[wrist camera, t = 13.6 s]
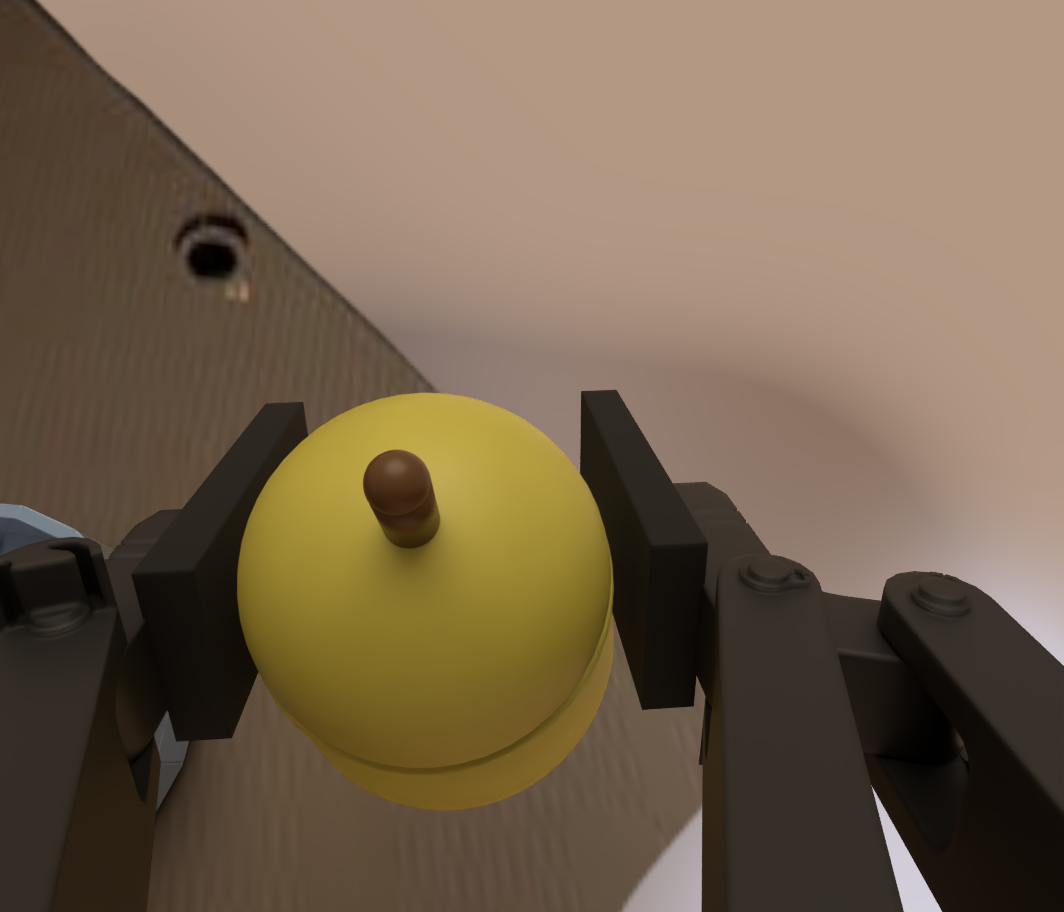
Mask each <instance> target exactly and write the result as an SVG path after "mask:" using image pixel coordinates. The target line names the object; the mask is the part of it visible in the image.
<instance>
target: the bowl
mask: <svg viewBox="0 0 1064 912" xmlns="http://www.w3.org/2000/svg"><path fill="white" fill-rule="evenodd" d="M65 537H80V538H90V539H92V540H94V541H96V542H97V543H99V544H100V545H101V549H102V552H103V556H104V560H106V559H109V555H110V554H111V553H112V552H113V550H114V549H112V548H110V547H108V546H106V545H104V544H102V543H101V542H99V541H97V540H95V539H93V538H91V537H89V536H87V535H85V534H84V533H82V532H80V531H78V530H76V529H74V528H72V527H70V526H67V525H65V524H63V523H61V522H59V521H56V520H54V519H52V518H50V517H48V516H46V515H43V514H41V513H39V512H37V511H35V510H33V509H30V508H28V507H26V506H22V505H13V504H3V503H0V556H2V555H3V554H5V553H7V552H10V551H12V550H15V549H17V548H20V547H23V546H25V545H28V544H32V543H36V542H40V541H44V540H48V539H54V538H65ZM154 736H155V740H156V744H157V747H158V751H159V755H160V760H161V767H160V777H159V787H158V797H157V807H156V811H157V810H158V808H159V806H160V804H161V802H162V801H163V799H164V797H165V795H166V794H167V792H168V790H169V788H170V787H171V785H172V783H173V781H174V780H175V778H176V776H177V774H178V772H179V771H180V769H181V767H182V765H183V761H184V759H185V755H186V751H187V747H188V743H189V741H181V742H176V740H175V736H174V732H173V729H172V725H171V721H170V718H169V714H168V710H167V712H166V713H165V715H164V717H163V719H162V721H161V723H160V725H159V727H158V728H157V730H156V732H155V734H154Z"/></svg>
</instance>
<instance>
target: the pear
mask: <svg viewBox="0 0 1064 912" xmlns="http://www.w3.org/2000/svg"><path fill="white" fill-rule="evenodd" d="M613 595H614V581H613V565H612V559H611V554H610V548H609V543H608V540H607V537H606V532H605V528H604V525H603V522H602V518H601V515H600V512H599V509H598V506H597V504H596V502H595V500H594V498H593V496H592V493H591V491H590V489H589V487H588V485H587V484H586V482H585V481H584V479H583V478H582V476H581V474H580V473H579V472H578V470H577V468H576V467H575V466H574V465H573V464H572V462H571V461H570V460H569V459H568V457H567V456H566V455H565V454H564V453H563V452H562V450H561V449H560V448H559V447H558V446H557V445H555V443H553V442H552V441H551V440H550V439H549V438H548V437H547V436H546V435H545V434H544V433H542V432H541V431H540V430H538V429H537V428H536V427H534V426H533V425H531V424H530V423H529V422H527V421H526V420H524V419H522V418H520V417H519V416H517V415H515V414H513V413H511V412H509V411H507V410H505V409H503V408H500V407H498V406H495V405H493V404H490V403H487V402H484V401H480V400H476V399H472V398H469V397H465V396H457V395H450V394H442V393H414V394H404V395H397V396H392V397H387V398H383V399H378V400H375V401H372V402H369V403H366V404H363V405H360V406H358V407H355V408H353V409H351V410H349V411H347V412H345V413H343V414H341V415H339V416H337V417H335V418H333V419H332V420H330V421H329V422H327V423H325V424H324V425H322V426H321V427H319V428H318V429H317V430H315V431H314V432H313V433H312V434H310V435H309V436H308V437H307V438H305V439H304V440H303V441H302V442H301V443H300V444H299V445H298V446H297V447H296V448H295V449H294V450H293V451H292V452H291V453H290V454H289V455H288V456H287V457H286V458H285V459H284V460H283V461H282V462H281V464H280V465H279V466H278V468H277V469H276V470H275V472H274V473H273V474H272V475H271V477H270V478H269V480H268V481H267V483H266V485H265V486H264V488H263V490H262V491H261V493H260V495H259V497H258V498H257V500H256V503H255V505H254V507H253V510H252V512H251V514H250V517H249V519H248V522H247V525H246V529H245V532H244V536H243V539H242V543H241V549H240V556H239V562H238V572H237V600H238V608H239V616H240V622H241V626H242V630H243V633H244V637H245V641H246V644H247V647H248V649H249V652H250V654H251V656H252V658H253V661H254V663H255V665H256V668H257V670H258V671H259V673H260V675H261V677H262V679H263V681H264V684H265V685H266V687H267V688H268V690H269V692H270V693H271V695H272V697H273V698H274V700H275V701H276V703H277V705H278V706H279V707H280V708H281V709H282V711H283V712H284V713H285V714H286V715H287V716H288V718H289V719H290V720H291V721H292V722H293V724H294V725H296V726H297V727H298V728H299V729H300V730H301V731H302V732H304V733H305V734H306V735H307V736H308V737H309V738H310V739H311V740H312V741H313V742H314V744H315V746H316V747H317V748H318V749H319V750H320V752H321V753H322V754H323V755H324V756H325V757H326V759H327V760H328V761H329V762H330V763H331V764H332V765H333V766H334V767H335V768H336V769H337V770H339V771H340V772H341V773H342V774H343V775H344V776H345V777H346V778H348V779H349V780H351V781H352V782H354V783H355V784H357V785H358V786H360V787H361V788H363V789H365V790H366V791H368V792H370V793H372V794H375V795H377V796H379V797H381V798H383V799H385V800H388V801H391V802H394V803H398V804H401V805H405V806H408V807H414V808H421V809H428V810H461V809H468V808H474V807H481V806H484V805H487V804H491V803H494V802H497V801H500V800H503V799H506V798H508V797H510V796H512V795H514V794H516V793H518V792H521V791H523V790H525V789H526V788H528V787H529V786H531V785H532V784H534V783H535V782H537V781H539V780H540V779H542V778H543V777H544V776H546V775H547V774H548V773H549V772H550V771H551V770H553V769H554V768H555V767H556V766H557V765H558V764H560V763H561V762H562V760H563V759H564V758H565V757H566V756H567V755H568V754H569V753H570V752H571V750H572V749H573V748H574V747H575V746H576V745H577V743H578V742H579V741H580V739H581V738H582V736H583V735H584V733H585V732H586V730H587V729H588V727H589V726H590V724H591V722H592V720H593V718H594V716H595V714H596V712H597V710H598V708H599V706H600V704H601V701H602V698H603V695H604V693H605V690H606V687H607V684H608V679H609V675H610V670H611V665H612V658H613V646H614V630H613V616H612V607H613Z"/></svg>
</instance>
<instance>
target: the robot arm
mask: <svg viewBox="0 0 1064 912" xmlns="http://www.w3.org/2000/svg"><path fill="white" fill-rule="evenodd" d="M307 437H308V433H307V426H306V419H305V412H304V405H303V402H294V403H269V404H265V405H264V407H263V408H262V409H261V410H260V412H259V413H258V414H257V415H256V417H255V418H254V419H253V420H252V422H251V423H250V424H249V426H248V427H247V428H246V429H245V431H244V432H243V433H242V434H241V436H240V437H239V438H238V439H237V441H236V442H235V443H234V444H233V446H232V447H231V448H230V449H229V451H228V452H227V453H226V455H225V456H224V457H223V458H222V460H221V461H220V462H219V463H218V465H217V466H216V467H215V468H214V470H213V471H212V472H211V473H210V475H209V476H208V477H207V479H206V480H205V481H204V482H203V484H202V485H201V486H200V487H199V489H198V490H197V491H196V492H195V494H194V495H193V496H192V497H191V499H190V500H189V501H188V502H187V504H186V505H185V506H184V508H183V509H177V510H161V511H159V512H157V513H155V514H154V515H152V516H150V517H149V518H147V519H145V520H144V521H142V522H140V523H139V524H137V525H136V526H135V527H134V528H133V529H132V530H131V531H130V532H129V533H128V535H127V536H126V537H125V538H124V539H123V540H122V541H121V545H118V546H117V547H116V548H115V549H114V550H113V552H112V553H111V554H110V555H109V559H106V560H104V556H103V552H102V549H101V545H100V544H99V543H97V542H96V541H94V540H92V539H90V538H80V537H65V538H54V539H48V540H44V541H40V542H36V543H32V544H28V545H25V546H23V547H20V548H17V549H15V550H12V551H10V552H7V553H5V554H3V555H2V556H0V912H146V909H147V898H148V888H149V878H150V868H151V858H152V848H153V838H154V828H155V818H156V807H157V797H158V787H159V777H160V767H161V760H160V755H159V751H158V747H157V744H156V740H155V736H154V734H155V732H156V730H157V728H158V727H159V725H160V723H161V721H162V719H163V717H164V715H165V713H166V712H167V710H168V714H169V718H170V721H171V725H172V729H173V732H174V736H175V740H176V742H181V741H196V740H210V739H225V738H232V736H233V734H234V731H235V729H236V726H237V724H238V721H239V719H240V716H241V714H242V711H243V709H244V706H245V704H246V701H247V699H248V696H249V694H250V691H251V689H252V686H253V684H254V682H255V679H256V677H257V674H258V672H259V671H258V670H257V668H256V665H255V663H254V661H253V658H252V656H251V654H250V652H249V649H248V647H247V644H246V641H245V637H244V633H243V630H242V626H241V622H240V616H239V608H238V600H237V572H238V562H239V556H240V549H241V543H242V539H243V536H244V532H245V529H246V525H247V522H248V519H249V517H250V514H251V512H252V510H253V507H254V505H255V503H256V500H257V498H258V497H259V495H260V493H261V491H262V490H263V488H264V486H265V485H266V483H267V481H268V480H269V478H270V477H271V475H272V474H273V473H274V472H275V470H276V469H277V468H278V466H279V465H280V464H281V462H282V461H283V460H284V459H285V458H286V457H287V456H288V455H289V454H290V453H291V452H292V451H293V450H294V449H295V448H296V447H297V446H298V445H299V444H300V443H301V442H302V441H303V440H304V439H305V438H307ZM580 455H581V456H580V460H581V461H580V474H581V476H582V478H583V479H584V481H585V482H586V484H587V485H588V487H589V489H590V491H591V493H592V496H593V498H594V500H595V502H596V504H597V506H598V509H599V512H600V515H601V518H602V522H603V525H604V528H605V532H606V537H607V540H608V543H609V548H610V554H611V559H612V565H613V581H614V595H613V607H612V612H613V616H614V619H615V622H616V625H617V629H618V632H619V635H620V638H621V642H622V645H623V648H624V651H625V655H626V658H627V661H628V665H629V668H630V671H631V674H632V678H633V681H634V684H635V687H636V691H637V694H638V697H639V701H640V704H641V707H642V710H647V709H661V708H676V707H691V706H694V697H695V685H696V675H697V677H698V680H699V682H700V684H701V687H702V689H703V691H704V694H705V696H706V698H705V708H704V718H703V728H702V739H701V749H700V759H699V765H703V797H702V912H904V911H903V907H902V904H901V899H900V896H899V891H898V887H897V884H896V880H895V876H894V872H893V868H892V864H891V860H890V856H889V852H888V849H887V845H886V840H885V837H884V833H883V829H882V825H881V821H880V817H879V813H878V809H877V805H876V801H875V797H874V794H873V790H872V787H873V789H874V790H875V792H876V794H877V796H878V797H879V799H880V801H881V803H882V805H883V806H884V808H885V810H886V812H887V813H888V815H889V817H890V819H891V821H892V822H893V824H894V826H895V828H896V830H897V831H898V833H899V835H900V837H901V839H902V840H903V842H904V844H905V846H906V848H907V849H908V851H909V853H910V855H911V856H912V858H913V860H914V862H915V864H916V865H917V867H918V869H919V871H920V873H921V874H922V876H923V878H924V880H925V881H926V883H927V885H928V887H929V889H930V890H931V892H932V894H933V896H934V898H935V899H936V901H937V903H938V904H939V907H940V908H941V910H942V912H1064V666H1063V665H1062V664H1061V663H1060V662H1059V661H1058V660H1057V659H1056V658H1055V657H1054V656H1053V655H1052V654H1050V653H1049V652H1048V651H1047V650H1046V649H1045V648H1044V647H1043V646H1042V645H1041V644H1040V643H1039V642H1038V641H1037V640H1036V639H1035V638H1034V637H1033V636H1031V635H1030V634H1029V633H1028V632H1027V631H1026V630H1025V629H1024V628H1023V627H1022V626H1021V625H1020V624H1018V622H1017V621H1016V620H1015V619H1013V618H1012V617H1011V616H1010V615H1009V614H1008V613H1007V612H1006V611H1005V610H1004V609H1003V608H1002V607H1001V606H1000V605H999V604H998V603H996V601H994V600H993V599H992V598H991V597H990V596H988V595H987V594H986V593H984V592H983V591H981V590H980V589H978V588H977V587H975V586H973V585H970V584H968V583H966V582H963V581H961V580H959V579H958V578H956V577H953V576H950V575H943V574H942V573H936V572H917V571H913V572H906V573H899V574H896V575H894V576H893V577H891V578H889V579H888V580H887V581H886V584H885V587H884V590H883V595H882V600H881V601H878V600H871V599H863V598H855V597H848V596H841V595H835V594H830V593H826V592H822V590H821V586H820V583H819V581H818V580H817V578H816V577H815V575H814V573H813V572H811V571H810V570H808V569H807V568H806V567H804V566H803V565H801V564H799V563H797V562H795V561H792V560H789V559H787V558H784V557H780V556H775V555H771V554H770V553H769V551H768V550H767V549H766V547H765V546H764V544H763V543H762V542H761V541H760V539H759V538H758V536H757V535H756V534H755V532H754V531H753V530H752V528H751V527H750V526H749V524H748V523H746V520H745V519H744V517H743V516H742V515H741V513H740V512H739V511H737V508H736V507H735V505H734V504H733V503H732V501H731V500H730V499H729V497H728V496H727V494H725V493H724V492H722V491H720V490H718V489H717V488H715V487H713V486H712V485H710V484H708V483H707V482H695V483H672V482H671V480H670V478H669V476H668V475H667V473H666V472H665V470H664V468H663V467H662V465H661V463H660V462H659V460H658V458H657V457H656V455H655V453H654V452H653V450H652V448H651V447H650V445H649V443H648V442H647V440H646V438H645V437H644V435H643V433H642V432H641V430H640V428H639V427H638V425H637V423H636V422H635V420H634V418H633V417H632V415H631V414H630V412H629V410H628V408H627V407H626V405H625V403H624V402H623V400H622V399H621V397H620V395H619V393H618V392H617V390H603V391H602V390H601V391H582V392H581V454H580ZM871 785H872V786H871Z"/></svg>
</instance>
